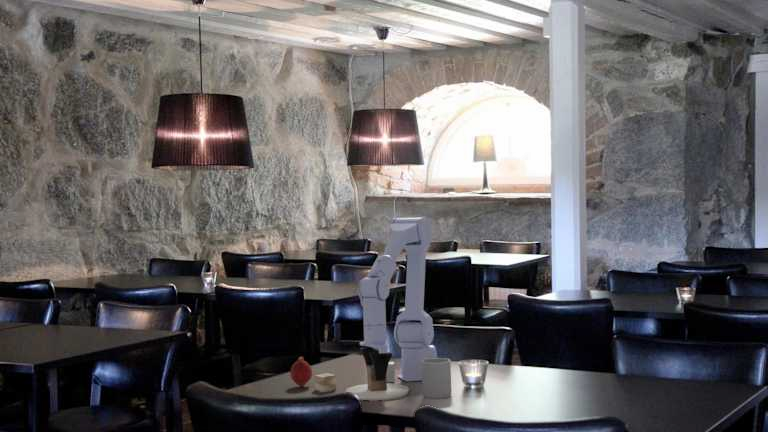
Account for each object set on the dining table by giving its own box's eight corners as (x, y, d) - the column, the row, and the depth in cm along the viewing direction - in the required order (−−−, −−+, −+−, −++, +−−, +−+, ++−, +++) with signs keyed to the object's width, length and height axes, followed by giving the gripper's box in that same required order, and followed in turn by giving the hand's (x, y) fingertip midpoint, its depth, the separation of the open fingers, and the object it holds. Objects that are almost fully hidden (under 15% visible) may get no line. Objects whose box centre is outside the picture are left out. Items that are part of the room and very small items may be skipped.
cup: (417, 398, 244) (416, 362, 244) (436, 390, 253) (435, 355, 253) (443, 400, 241) (441, 364, 240) (461, 392, 249) (460, 357, 249)
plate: (398, 385, 260) (398, 381, 260) (416, 397, 245) (416, 392, 245) (339, 391, 256) (339, 386, 256) (354, 403, 241) (354, 398, 241)
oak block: (328, 388, 261) (327, 373, 261) (336, 390, 258) (335, 375, 258) (315, 390, 259) (314, 375, 259) (323, 392, 255) (322, 377, 255)
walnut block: (382, 387, 253) (382, 364, 253) (386, 390, 249) (386, 366, 249) (367, 388, 252) (367, 365, 252) (371, 391, 248) (370, 367, 248)
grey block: (394, 379, 269) (393, 361, 269) (395, 382, 265) (394, 364, 265) (379, 380, 269) (379, 362, 269) (380, 383, 265) (379, 364, 265)
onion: (309, 389, 260) (307, 358, 260) (288, 388, 261) (287, 358, 261) (315, 384, 266) (313, 355, 266) (294, 384, 267) (293, 355, 267)
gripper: (352, 321, 256) (354, 374, 256) (367, 329, 242) (368, 384, 242) (378, 320, 258) (380, 371, 258) (394, 326, 244) (396, 381, 244)
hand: (376, 377), depth 250 cm, fingers open, 7 cm apart
